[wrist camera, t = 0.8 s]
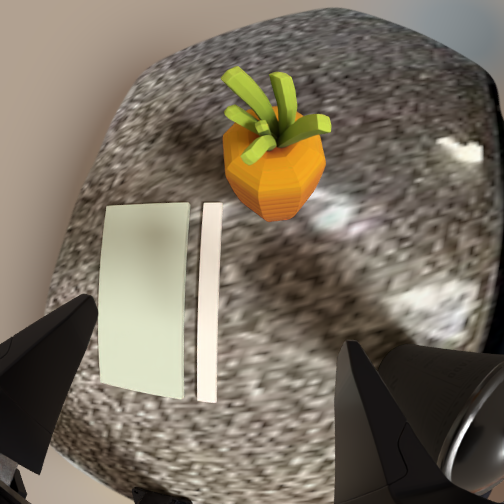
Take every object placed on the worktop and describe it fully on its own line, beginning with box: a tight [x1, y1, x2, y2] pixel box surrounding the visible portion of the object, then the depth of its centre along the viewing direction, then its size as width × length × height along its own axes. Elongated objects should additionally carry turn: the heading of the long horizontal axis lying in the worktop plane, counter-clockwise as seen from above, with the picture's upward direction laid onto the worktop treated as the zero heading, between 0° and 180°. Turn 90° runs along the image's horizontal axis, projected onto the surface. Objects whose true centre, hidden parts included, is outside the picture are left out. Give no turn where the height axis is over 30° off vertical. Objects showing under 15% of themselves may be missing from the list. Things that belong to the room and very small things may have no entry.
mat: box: [98, 202, 190, 399], centre depth 23 cm, size 16×8×1 cm, turn 178°
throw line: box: [197, 203, 223, 403], centre depth 22 cm, size 16×2×1 cm, turn 178°
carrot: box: [221, 66, 331, 222], centre depth 15 cm, size 5×5×15 cm
